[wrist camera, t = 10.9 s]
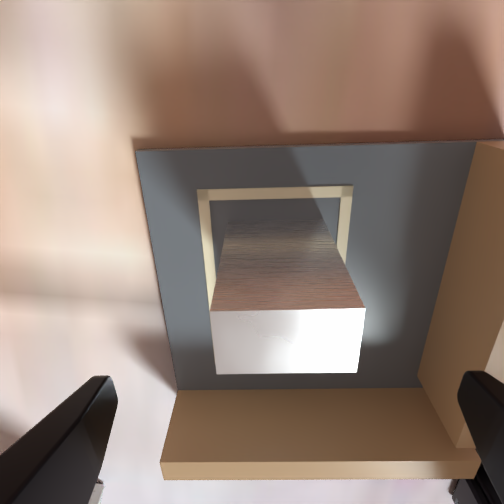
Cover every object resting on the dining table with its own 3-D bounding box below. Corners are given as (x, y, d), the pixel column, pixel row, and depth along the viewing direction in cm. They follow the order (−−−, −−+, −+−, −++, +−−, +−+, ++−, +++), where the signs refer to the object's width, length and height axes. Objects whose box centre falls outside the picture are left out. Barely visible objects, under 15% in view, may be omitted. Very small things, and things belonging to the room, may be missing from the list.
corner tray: (505, 138, 15) (611, 165, 10) (430, 397, 22) (473, 478, 18) (138, 149, 15) (90, 178, 11) (182, 400, 23) (163, 480, 18)
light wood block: (315, 349, 20) (342, 475, 14) (236, 350, 20) (227, 475, 14) (323, 219, 16) (365, 308, 10) (227, 221, 16) (209, 311, 10)
